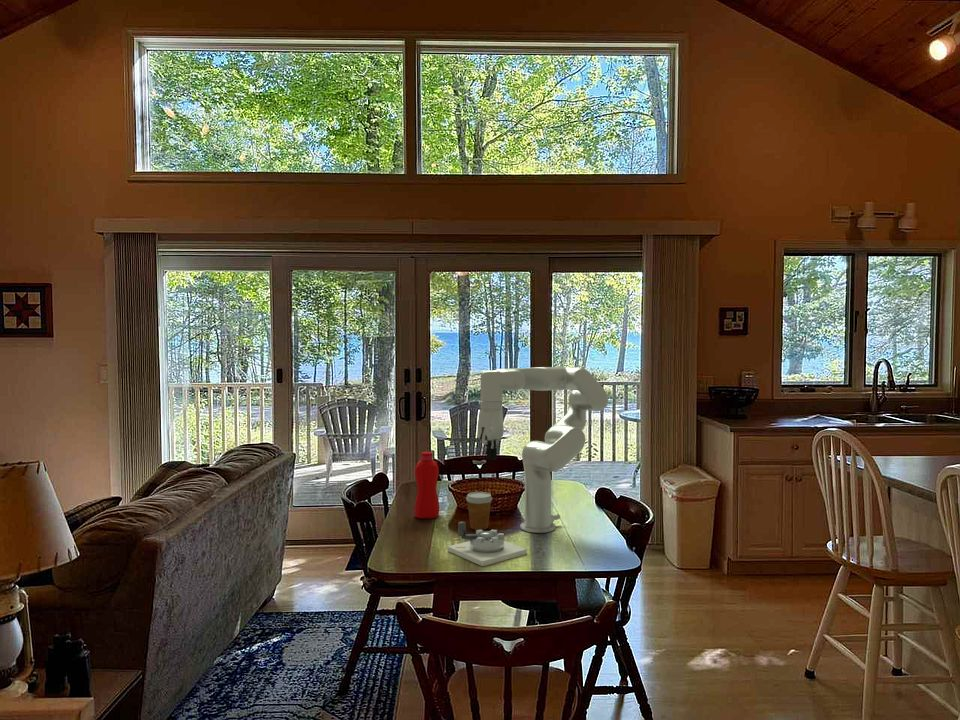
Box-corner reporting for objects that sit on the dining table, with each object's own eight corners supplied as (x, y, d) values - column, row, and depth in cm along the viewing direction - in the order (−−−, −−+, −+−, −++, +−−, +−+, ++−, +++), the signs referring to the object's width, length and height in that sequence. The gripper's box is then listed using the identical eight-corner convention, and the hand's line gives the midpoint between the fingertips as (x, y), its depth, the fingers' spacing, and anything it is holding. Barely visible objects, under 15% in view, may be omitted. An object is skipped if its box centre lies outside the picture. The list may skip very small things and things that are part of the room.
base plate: (490, 540, 216) (490, 535, 216) (526, 553, 202) (526, 548, 202) (447, 550, 205) (447, 546, 205) (482, 566, 191) (482, 561, 191)
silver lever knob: (503, 541, 209) (503, 517, 209) (504, 552, 198) (504, 527, 198) (458, 541, 209) (458, 517, 209) (457, 552, 198) (457, 527, 198)
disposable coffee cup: (462, 525, 234) (462, 493, 233) (486, 522, 237) (486, 490, 237) (471, 532, 225) (471, 498, 224) (496, 529, 228) (496, 496, 228)
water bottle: (440, 512, 252) (440, 449, 251) (437, 519, 241) (437, 454, 240) (417, 511, 252) (417, 449, 252) (413, 519, 241) (413, 454, 241)
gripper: (493, 403, 226) (494, 455, 227) (470, 407, 214) (470, 461, 214) (512, 405, 222) (512, 457, 222) (488, 408, 209) (488, 464, 210)
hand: (491, 459), depth 218 cm, fingers closed
